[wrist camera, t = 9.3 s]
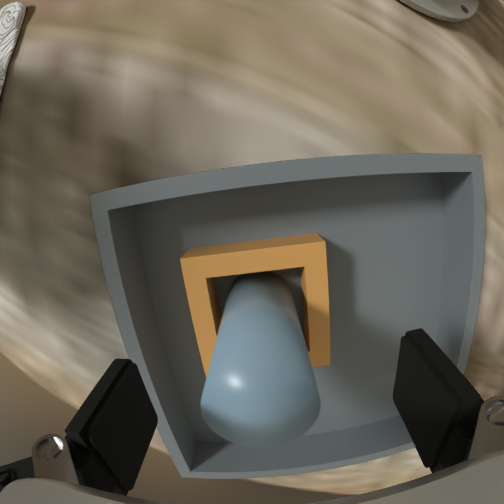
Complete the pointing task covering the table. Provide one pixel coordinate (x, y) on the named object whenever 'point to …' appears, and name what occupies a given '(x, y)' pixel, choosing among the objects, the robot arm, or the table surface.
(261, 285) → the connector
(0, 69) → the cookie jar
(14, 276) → the table surface
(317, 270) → the frame
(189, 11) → the table surface
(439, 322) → the walled box
